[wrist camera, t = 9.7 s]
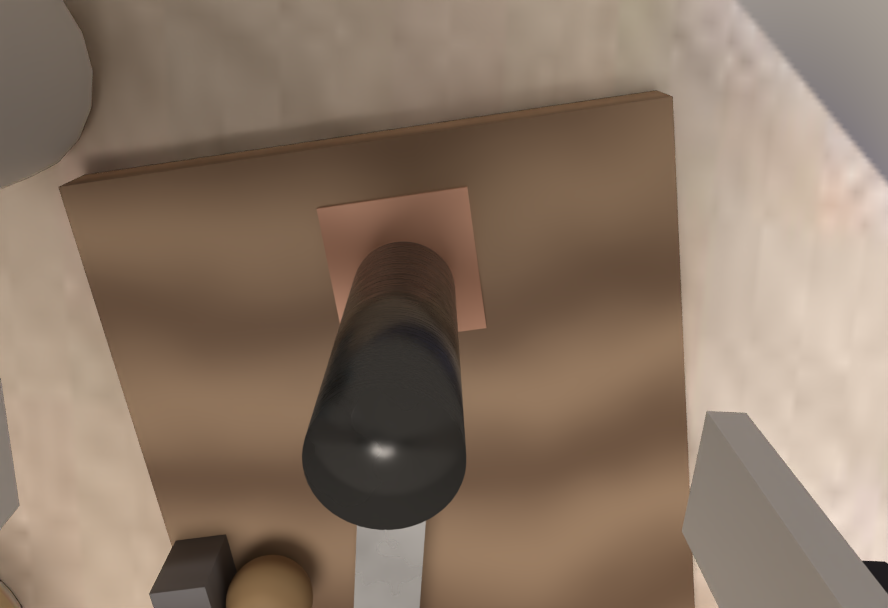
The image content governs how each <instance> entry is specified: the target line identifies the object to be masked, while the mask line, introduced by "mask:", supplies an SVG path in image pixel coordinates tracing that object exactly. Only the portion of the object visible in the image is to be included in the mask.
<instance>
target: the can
mask: <svg viewBox="0 0 888 608" xmlns="http://www.w3.org/2000/svg"><path fill="white" fill-rule="evenodd" d="M92 75H93V70H92V67H91V63H90V59H89V56H88V52H87V48H86V45H85V41H84V37H83V33H82V32H81V30H80V28H79V26H78V25H77V23H76V21H75V20H74V18H73V16H72V15H71V13H70V11H69V10H68V8H67V6H66V5H65V3H64V1H63V0H0V189H3V188H5V187H8V186H10V185H12V184H15V183H17V182H20V181H22V180H25V179H27V178H29V177H31V176H33V175H35V174H37V173H39V172H41V171H43V170H45V169H47V168H49V167H51V166H53V165H55V164H57V163H58V162H59V161H60V160H61V159H62V157H63V156H64V155H65V154H66V153H67V152H68V151H69V150H70V149H71V147H72V146H73V145H74V144H75V143H76V142H77V141H78V140H79V138H80V135H81V133H82V130H83V128H84V125H85V122H86V120H87V117H88V115H89V112H90V110H91V104H92Z"/></svg>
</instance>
